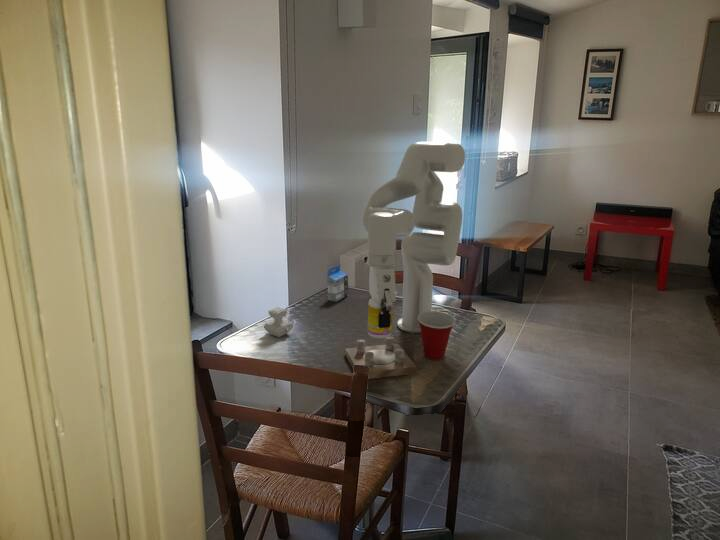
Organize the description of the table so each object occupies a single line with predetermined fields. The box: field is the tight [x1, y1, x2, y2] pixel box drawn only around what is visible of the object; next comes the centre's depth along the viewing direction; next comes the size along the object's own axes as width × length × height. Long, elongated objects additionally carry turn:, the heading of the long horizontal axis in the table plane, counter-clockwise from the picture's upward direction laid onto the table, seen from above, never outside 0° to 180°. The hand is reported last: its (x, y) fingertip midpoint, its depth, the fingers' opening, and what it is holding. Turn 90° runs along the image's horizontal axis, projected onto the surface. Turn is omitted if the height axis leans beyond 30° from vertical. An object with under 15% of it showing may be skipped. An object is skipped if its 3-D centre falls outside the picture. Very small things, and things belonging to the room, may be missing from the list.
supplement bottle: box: [367, 292, 394, 339], centre depth 147 cm, size 7×7×13 cm
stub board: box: [344, 336, 418, 380], centre depth 150 cm, size 16×16×6 cm
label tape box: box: [326, 263, 349, 303], centre depth 204 cm, size 9×4×12 cm, turn 149°
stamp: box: [263, 306, 294, 338], centre depth 170 cm, size 9×7×8 cm
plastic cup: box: [417, 310, 456, 361], centre depth 155 cm, size 11×11×12 cm
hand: (380, 321), depth 147 cm, fingers closed on supplement bottle, 6 cm apart
